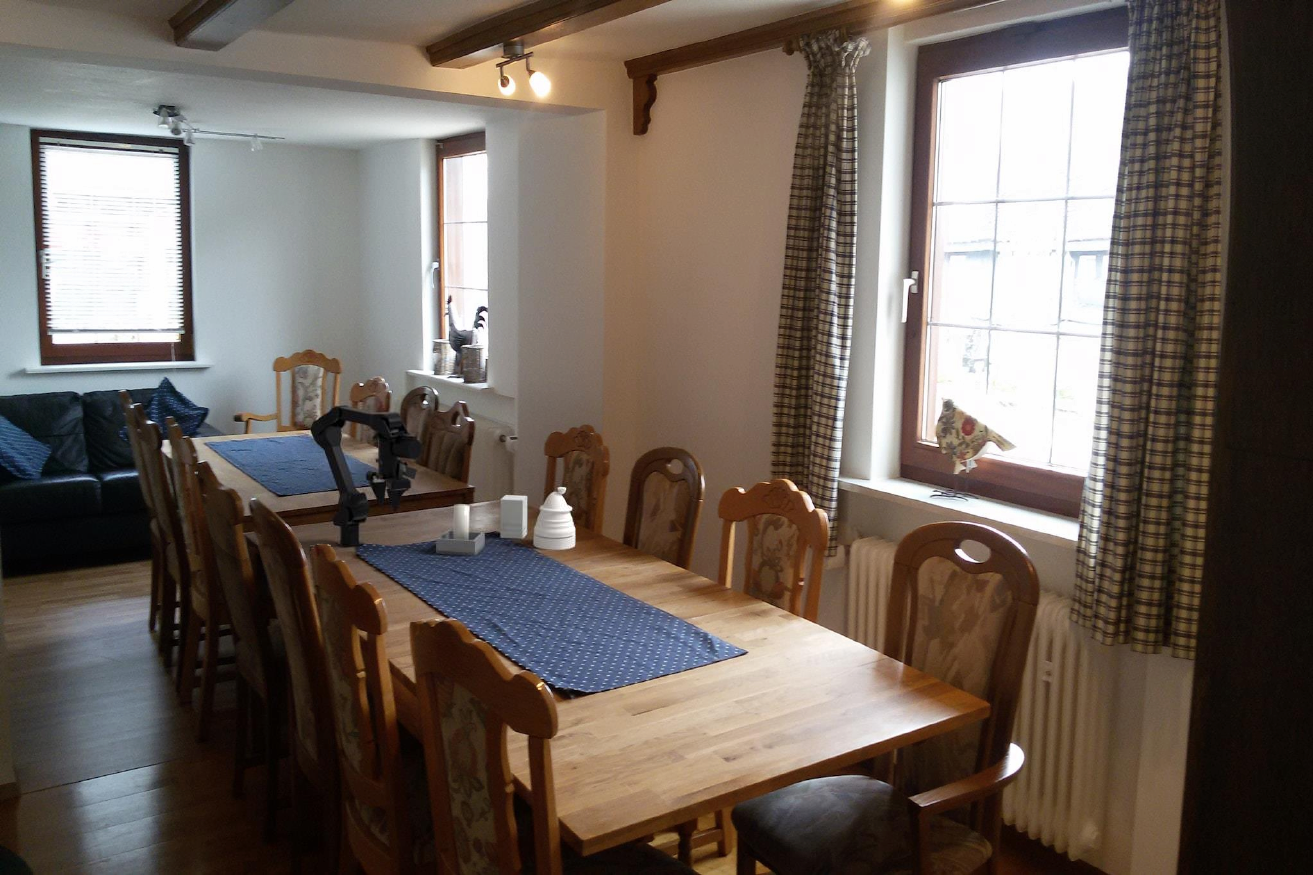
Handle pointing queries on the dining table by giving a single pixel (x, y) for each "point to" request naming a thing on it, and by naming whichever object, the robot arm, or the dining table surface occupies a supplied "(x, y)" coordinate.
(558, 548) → the honey pot
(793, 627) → the dining table surface
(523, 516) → the supplement box
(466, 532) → the ceramic pillar
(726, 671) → the dining table surface
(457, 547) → the grey crate
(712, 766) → the dining table surface
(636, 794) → the dining table surface
